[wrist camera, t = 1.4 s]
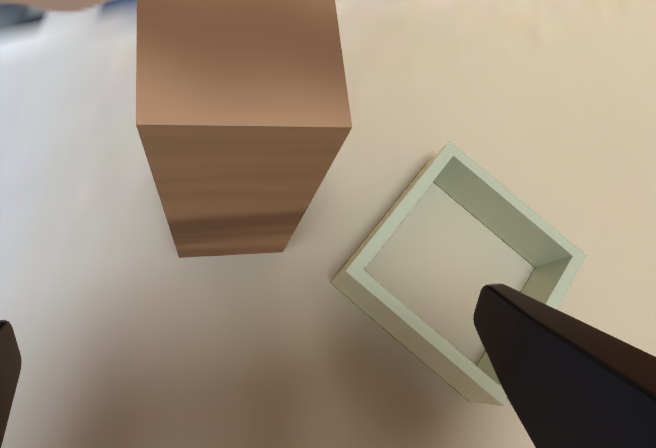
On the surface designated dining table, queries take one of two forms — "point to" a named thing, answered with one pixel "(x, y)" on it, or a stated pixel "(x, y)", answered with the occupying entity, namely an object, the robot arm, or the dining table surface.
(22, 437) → the dining table surface
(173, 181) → the walnut block
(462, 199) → the green holder
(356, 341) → the dining table surface
